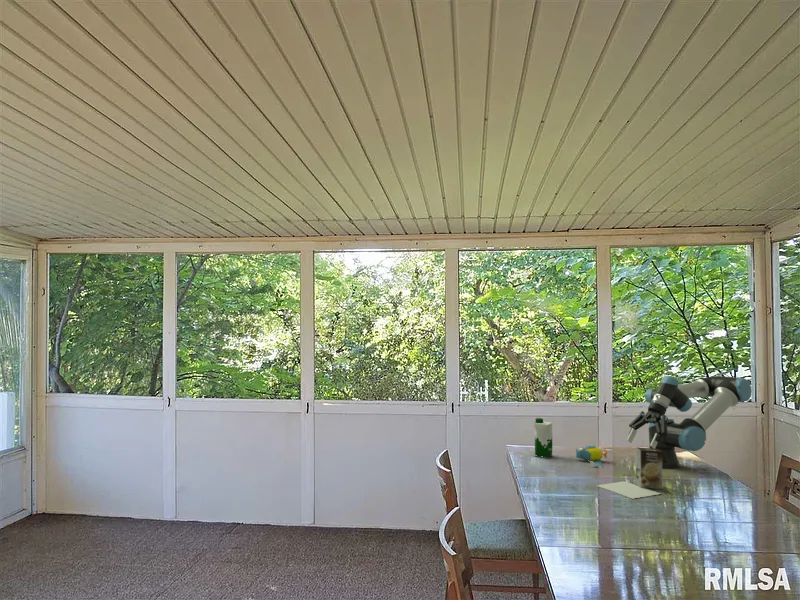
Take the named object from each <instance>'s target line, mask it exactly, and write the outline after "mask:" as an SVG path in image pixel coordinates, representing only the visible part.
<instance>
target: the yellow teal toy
mask: <svg viewBox="0 0 800 600" xmlns="http://www.w3.org/2000/svg"><path fill="white" fill-rule="evenodd" d="M607 453H608V451H607V450H606V448H605V449H604V450H603V452H602V449H601V448H599V447H597V446H596V445H589V446H588V445H586V446H584V447H578V448H576V449H575V455H576V456H575V457H576V458H578V459H580V460H584V461H588V460H589V461H593V462H594V463H595V464H596V465H599V466H603V463H602V461H601V459H602V458H603V457H605V459H606V458H607ZM599 466H593V467H592V468H598V467H599ZM603 467H604V466H603Z"/></svg>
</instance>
